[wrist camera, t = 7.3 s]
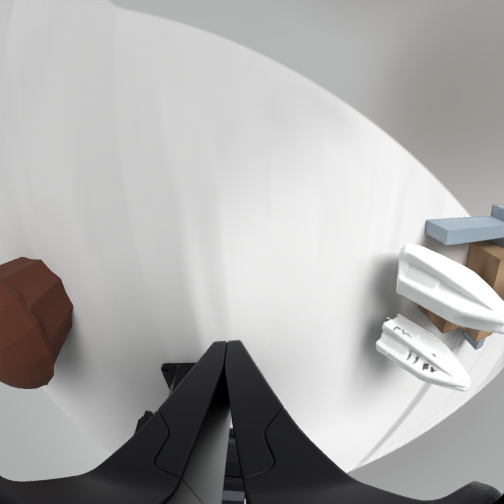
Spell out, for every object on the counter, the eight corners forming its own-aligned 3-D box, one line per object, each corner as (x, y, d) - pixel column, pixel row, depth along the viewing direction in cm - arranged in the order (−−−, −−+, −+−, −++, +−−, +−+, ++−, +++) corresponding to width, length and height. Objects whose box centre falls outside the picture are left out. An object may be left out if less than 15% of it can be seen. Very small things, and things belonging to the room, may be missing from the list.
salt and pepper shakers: (382, 239, 18) (526, 284, 9) (408, 226, 20) (530, 260, 11) (368, 364, 22) (464, 419, 13) (393, 342, 24) (482, 387, 15)
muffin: (105, 324, 22) (58, 404, 13) (52, 355, 24) (13, 415, 14) (32, 218, 18) (-48, 261, 9) (-8, 272, 20) (-63, 316, 11)
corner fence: (468, 333, 25) (481, 347, 22) (401, 356, 25) (413, 374, 22) (498, 204, 19) (517, 211, 16) (427, 205, 19) (449, 214, 16)
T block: (470, 313, 24) (491, 334, 20) (412, 331, 24) (433, 359, 20) (487, 239, 21) (515, 255, 16) (427, 248, 21) (458, 269, 16)
